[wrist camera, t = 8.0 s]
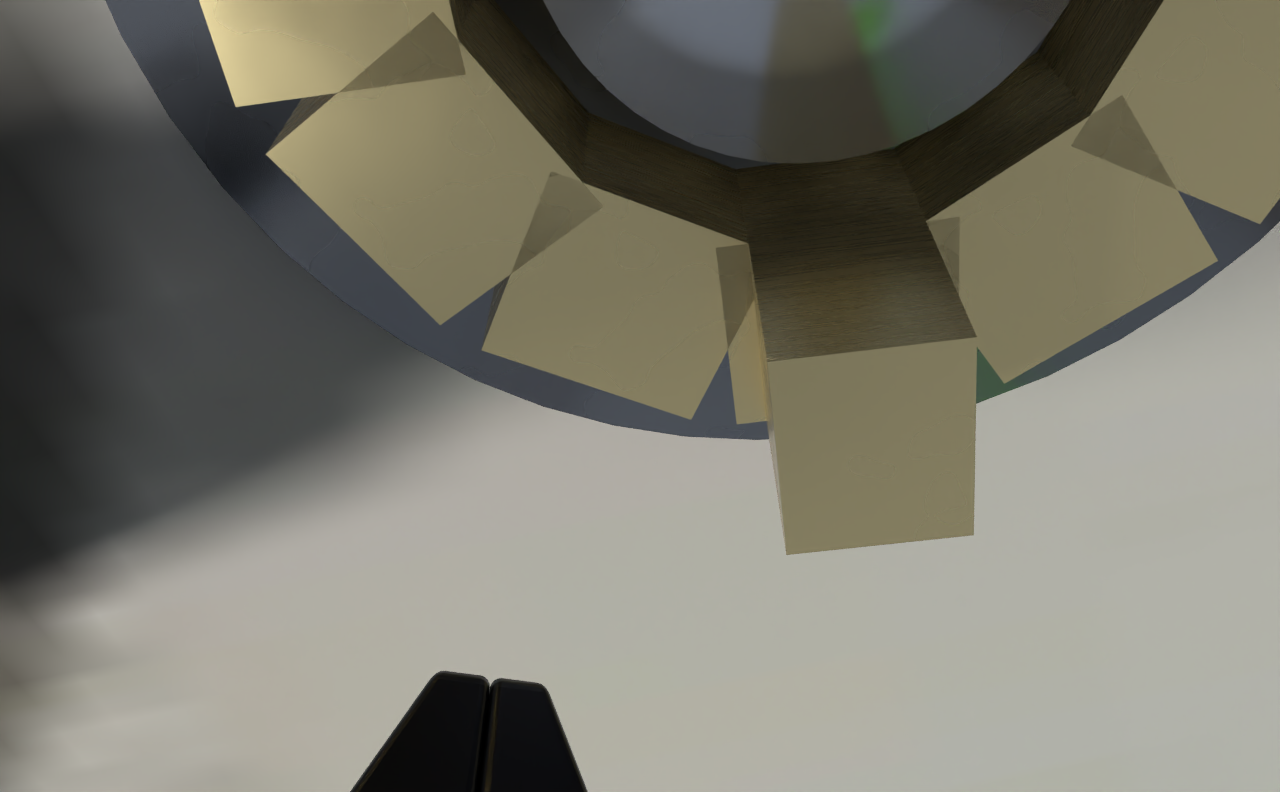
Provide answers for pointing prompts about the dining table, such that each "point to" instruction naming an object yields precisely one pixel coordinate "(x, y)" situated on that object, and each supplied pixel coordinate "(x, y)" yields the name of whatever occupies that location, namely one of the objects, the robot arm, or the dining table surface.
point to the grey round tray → (669, 111)
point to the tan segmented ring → (779, 225)
